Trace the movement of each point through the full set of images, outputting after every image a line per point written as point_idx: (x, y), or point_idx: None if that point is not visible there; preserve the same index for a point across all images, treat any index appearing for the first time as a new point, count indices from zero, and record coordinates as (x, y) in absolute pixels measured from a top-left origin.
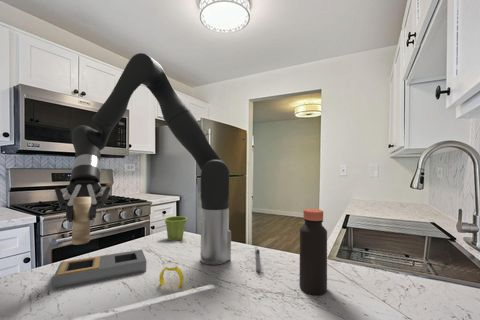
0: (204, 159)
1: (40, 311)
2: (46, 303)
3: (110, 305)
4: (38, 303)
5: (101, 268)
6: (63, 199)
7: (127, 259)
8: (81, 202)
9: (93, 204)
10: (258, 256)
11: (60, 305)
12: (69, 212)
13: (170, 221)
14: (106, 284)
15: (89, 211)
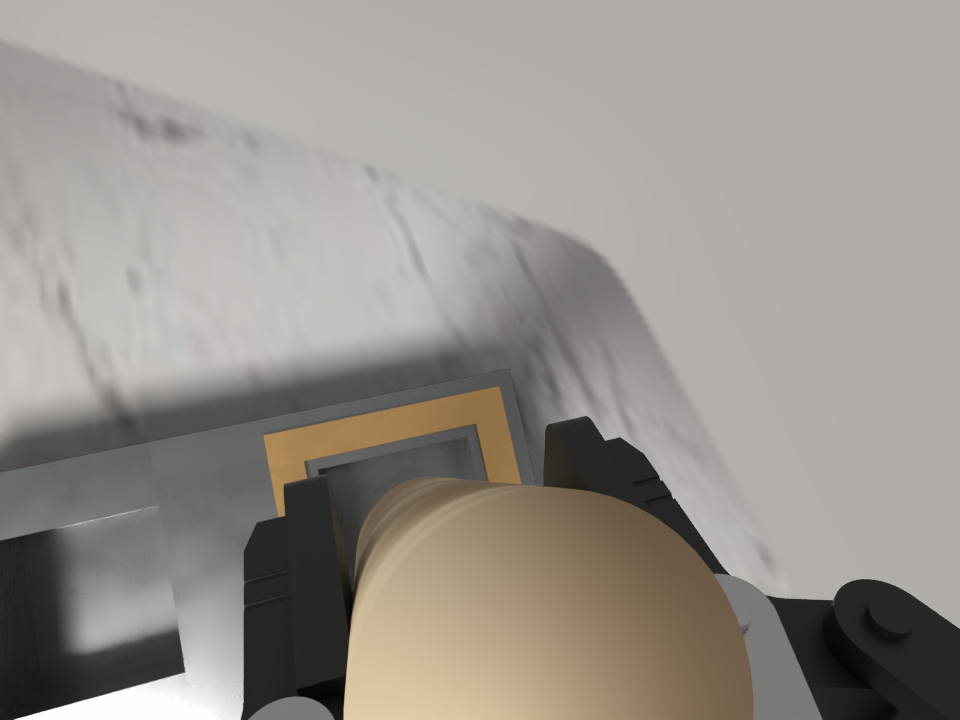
0: None
1: (474, 228)
2: (479, 292)
3: (164, 174)
4: (515, 304)
5: (245, 424)
6: (939, 699)
7: (92, 688)
8: (494, 492)
9: (297, 702)
10: None
11: (407, 253)
12: (623, 472)
13: None
14: (227, 416)
15: (356, 583)
